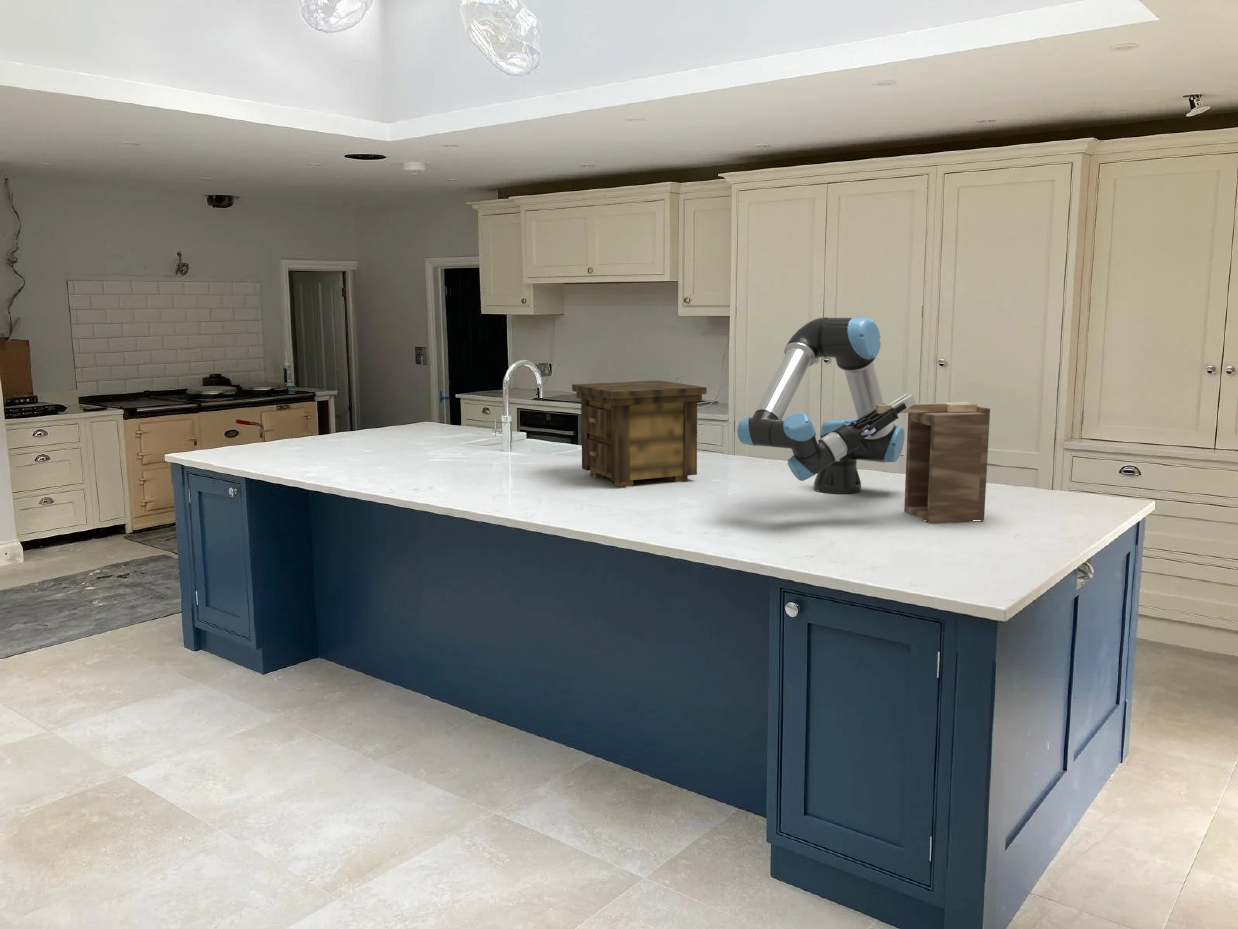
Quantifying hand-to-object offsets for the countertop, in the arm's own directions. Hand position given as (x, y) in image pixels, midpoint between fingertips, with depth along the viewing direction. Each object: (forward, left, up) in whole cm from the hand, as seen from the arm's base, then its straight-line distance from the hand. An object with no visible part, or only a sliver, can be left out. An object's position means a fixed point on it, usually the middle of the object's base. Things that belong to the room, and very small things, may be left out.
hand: (911, 398), depth 266 cm
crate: (-79, -63, -34) cm, 107 cm away
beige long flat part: (0, +4, -4) cm, 6 cm away
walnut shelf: (0, +11, -34) cm, 36 cm away
